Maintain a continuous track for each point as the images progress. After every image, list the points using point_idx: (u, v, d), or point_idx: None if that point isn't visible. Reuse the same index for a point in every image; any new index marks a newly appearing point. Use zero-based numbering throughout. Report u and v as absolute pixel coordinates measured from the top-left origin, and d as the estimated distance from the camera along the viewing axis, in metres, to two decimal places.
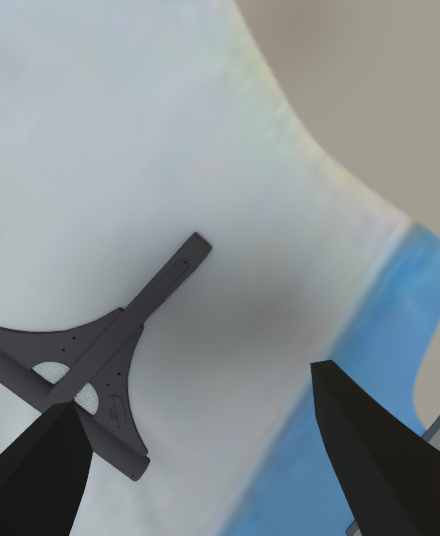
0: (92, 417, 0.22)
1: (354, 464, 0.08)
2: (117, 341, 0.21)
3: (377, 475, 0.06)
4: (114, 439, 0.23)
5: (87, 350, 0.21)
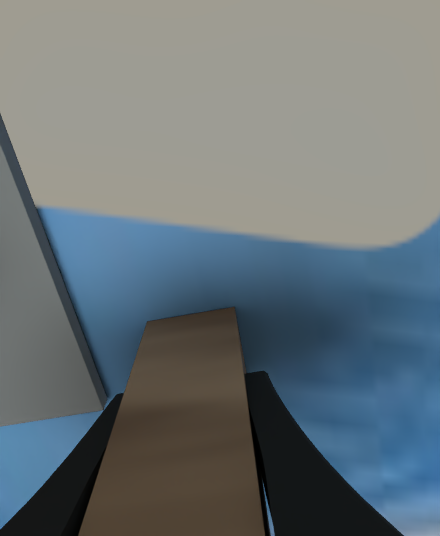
0: None
1: (265, 477, 0.08)
2: None
3: (268, 491, 0.06)
4: None
5: None
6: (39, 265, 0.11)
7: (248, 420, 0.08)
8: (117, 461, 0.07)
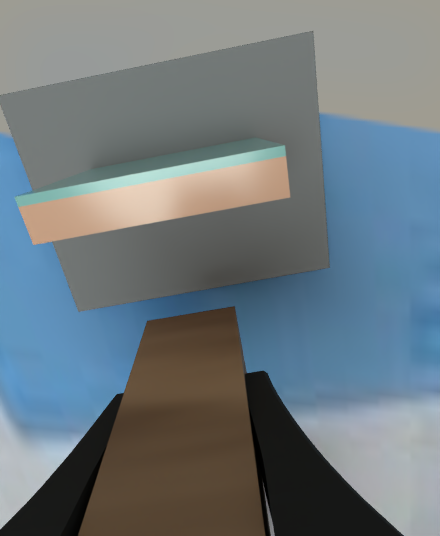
0: None
1: (265, 477, 0.08)
2: None
3: (268, 491, 0.06)
4: None
5: None
6: (316, 152, 0.17)
7: (248, 419, 0.08)
8: (117, 460, 0.07)
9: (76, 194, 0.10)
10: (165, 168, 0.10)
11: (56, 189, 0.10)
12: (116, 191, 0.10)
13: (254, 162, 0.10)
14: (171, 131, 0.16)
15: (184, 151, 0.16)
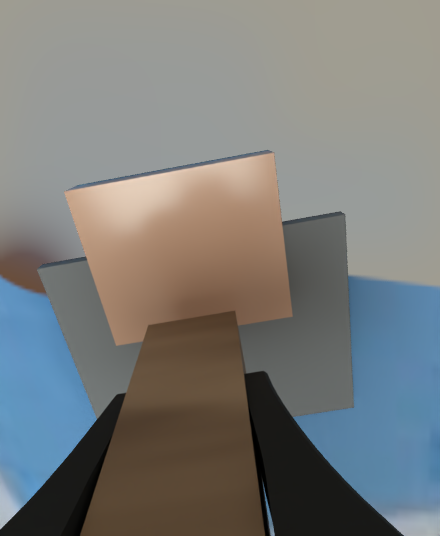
0: None
1: (265, 477, 0.08)
2: None
3: None
4: None
5: None
6: (344, 313, 0.17)
7: (248, 422, 0.08)
8: (118, 463, 0.07)
9: (118, 178, 0.14)
10: (184, 166, 0.15)
11: (107, 181, 0.15)
12: (145, 173, 0.14)
13: (246, 154, 0.14)
14: None
15: None
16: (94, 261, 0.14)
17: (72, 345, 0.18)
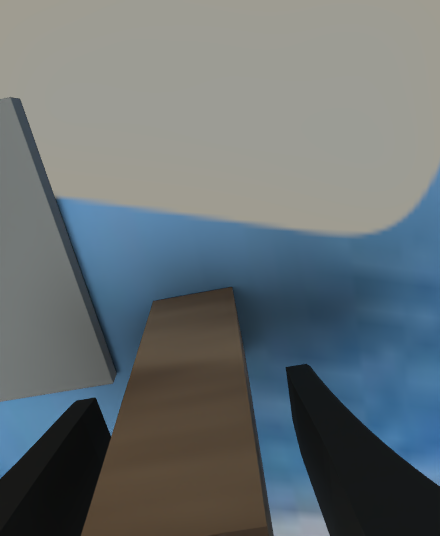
0: None
1: (322, 469, 0.08)
2: None
3: (337, 481, 0.06)
4: None
5: None
6: (58, 249, 0.13)
7: (243, 374, 0.09)
8: (133, 407, 0.09)
9: None
10: None
11: None
12: None
13: None
14: None
15: None
16: None
17: None
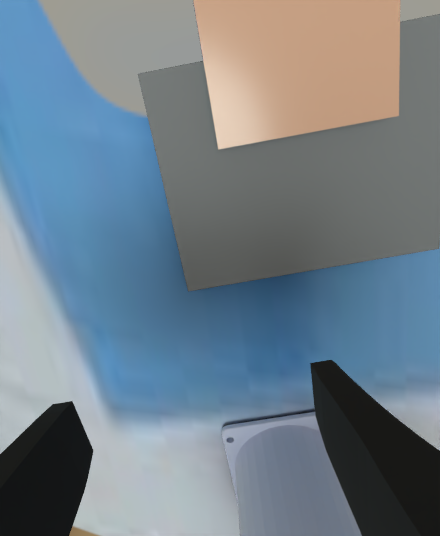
0: None
1: (354, 464, 0.08)
2: None
3: (377, 475, 0.06)
4: None
5: None
6: None
7: None
8: None
9: None
10: None
11: None
12: None
13: None
14: None
15: None
16: (207, 43, 0.14)
17: (164, 168, 0.18)
